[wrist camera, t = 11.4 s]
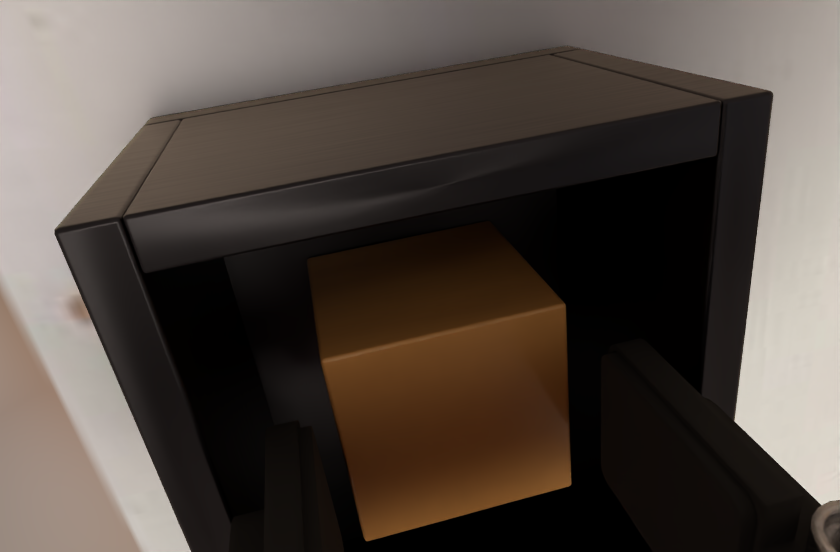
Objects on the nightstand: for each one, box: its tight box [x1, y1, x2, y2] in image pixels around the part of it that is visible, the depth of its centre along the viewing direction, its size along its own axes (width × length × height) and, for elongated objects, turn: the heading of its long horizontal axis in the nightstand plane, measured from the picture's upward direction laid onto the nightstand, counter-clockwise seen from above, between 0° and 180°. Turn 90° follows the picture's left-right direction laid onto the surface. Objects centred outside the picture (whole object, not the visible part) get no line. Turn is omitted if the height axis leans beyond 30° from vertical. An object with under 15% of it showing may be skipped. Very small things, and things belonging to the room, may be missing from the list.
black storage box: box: [55, 46, 773, 552], centre depth 14 cm, size 14×10×7 cm
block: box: [307, 221, 571, 541], centre depth 14 cm, size 4×4×4 cm
